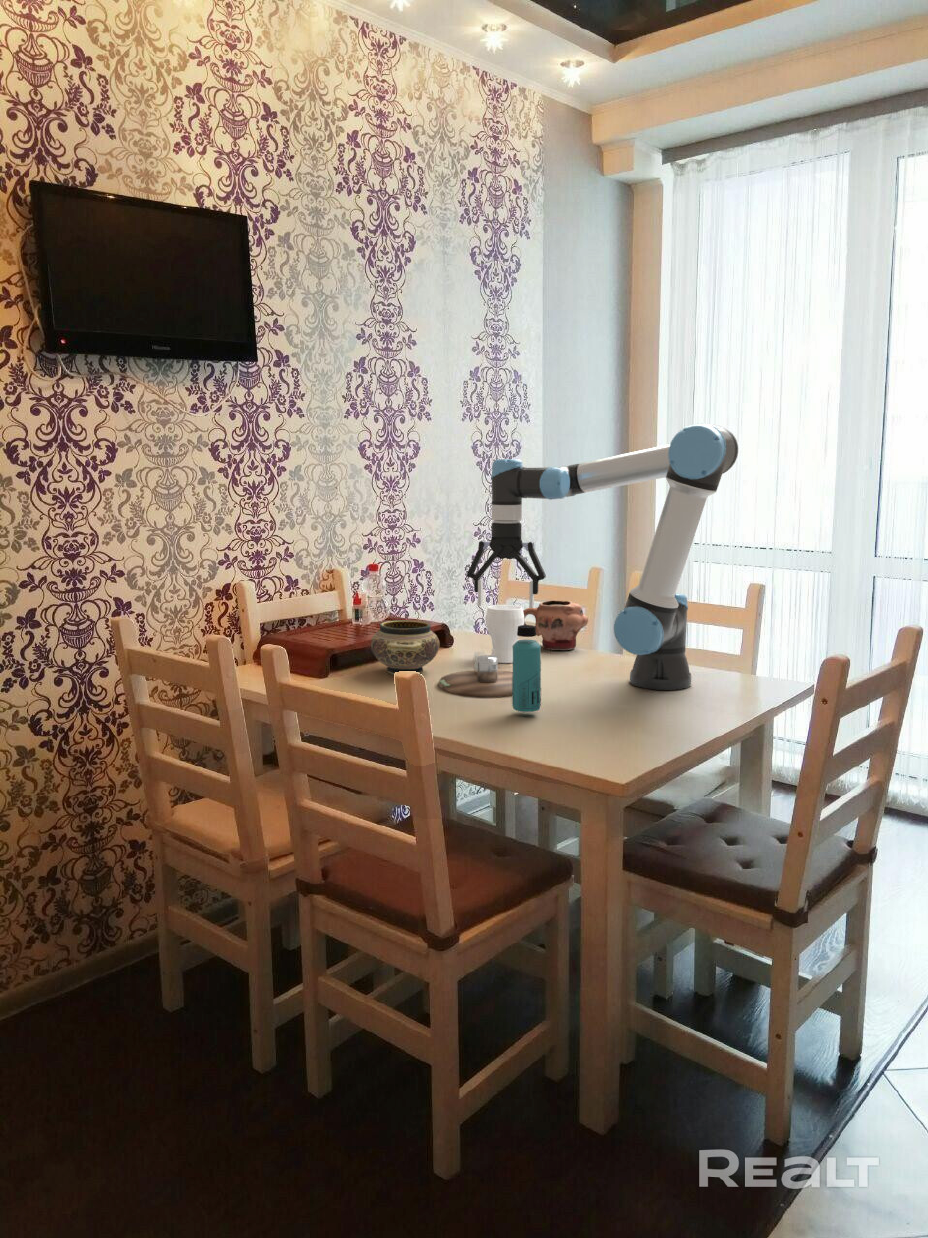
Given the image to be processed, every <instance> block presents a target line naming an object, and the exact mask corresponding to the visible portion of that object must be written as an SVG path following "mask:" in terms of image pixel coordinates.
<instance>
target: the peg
mask: <svg viewBox="0 0 928 1238" xmlns="http://www.w3.org/2000/svg"><path fill="white" fill-rule="evenodd" d="M473 656H474V657H473V663H474V665H473V668H474V669H473V670H474V671H475V672H476V673H477V680H478V681H479V682H485V683H490V682H496V681H497V678H498V670H499V669H498V665H499V663H498V657H497V656H492V655H491V654H490V655H489V654H488V655H487V653H485V652H484V651H474V653H473Z"/></svg>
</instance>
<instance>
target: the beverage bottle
mask: <svg viewBox="0 0 928 1238" xmlns="http://www.w3.org/2000/svg"><path fill="white" fill-rule="evenodd" d="M517 635H518V636H519V637H520V638H521V637H522V638H532V637H536V636H537V635H536V627H535V625H531V624H526V625H521V626H518V632H517ZM512 648H513V663H512V672H513V673H512V674H513V675H512V696H511V704H512V705H511V706H512V709H513V710H514V711H517V712H523V713H531V712H532V713H533V712H538V711H539V710H540V709H541V706H542V705H541V704H542V703H541V701H542V687H541V686H542V684H541V683H542V681H541V680H542V679H541V676H542V675H541V672H542V660H541V650H542V649H541V648H542V647H541V644H540V643H539V642H538V641H537V640H534V639H518V641H517V642H516V643H515V644H514V645H513V646H512Z"/></svg>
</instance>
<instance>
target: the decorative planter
mask: <svg viewBox="0 0 928 1238" xmlns="http://www.w3.org/2000/svg"><path fill="white" fill-rule="evenodd" d="M523 613H524V625H527V623H526V622H525V619H526V617H527V616H528V615H533V616H534V619H535V625H534V626H535V627H536V636H537V637H539V636H541V637H542V641H541V643H542V647H543V649H546V650H550V649H551V650H552V651H558V650H559V651H569V650H574V649H575V648H576V647H577V635H578V634H579V632H580V631H581V630H583V628H584V627H586V626H587V625H588V623H589V618H588V616H587V615H585V614H584V611H583V608H582V606H581V604H579V603H576V602H573V601H569V600H568V601H567V600H544V601H542V602H539V604H538V607H533V608H529V607H527V608H525V609H523Z"/></svg>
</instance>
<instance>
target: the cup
mask: <svg viewBox="0 0 928 1238" xmlns="http://www.w3.org/2000/svg"><path fill="white" fill-rule="evenodd" d="M486 609H487V610H486V614H485V625H486V629H487V631H488V633H489V636H490V638H491V644H492V648H491V654H490V655H492V656H497V657H498V664H511V663H512V664H513V648H512V646H513V645H514V644H515V643H516V642H517V641H518V640H519V638H520V636H518V635H517V632H518V626H521V625H524V621H525V619H524V613H523V610H524V609H523V607H522V606H521V605H516V604H506V603H505V604H493V605H489V606H487V608H486Z"/></svg>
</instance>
